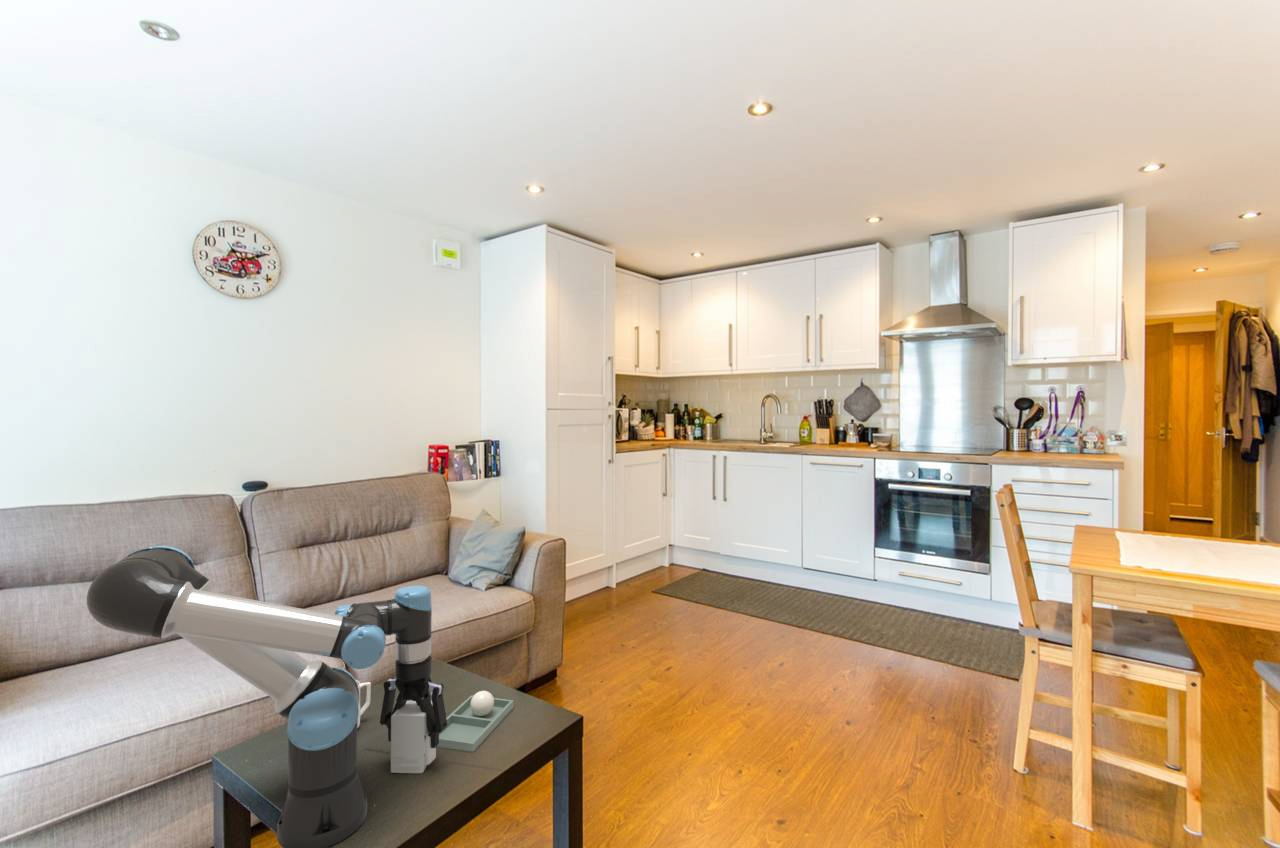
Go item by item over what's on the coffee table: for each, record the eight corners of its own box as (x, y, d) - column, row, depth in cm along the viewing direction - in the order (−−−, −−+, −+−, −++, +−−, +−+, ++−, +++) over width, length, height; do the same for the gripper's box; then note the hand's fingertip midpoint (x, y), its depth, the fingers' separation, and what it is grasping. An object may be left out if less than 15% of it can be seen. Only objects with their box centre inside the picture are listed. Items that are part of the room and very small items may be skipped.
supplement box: (423, 774, 127) (423, 716, 127) (389, 773, 127) (389, 715, 127) (435, 754, 134) (436, 700, 134) (404, 754, 135) (404, 699, 134)
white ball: (487, 722, 148) (487, 698, 148) (465, 719, 149) (465, 695, 149) (498, 710, 153) (498, 687, 153) (477, 707, 155) (477, 685, 155)
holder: (473, 754, 134) (473, 743, 134) (425, 747, 137) (425, 736, 137) (513, 709, 155) (513, 700, 155) (471, 704, 158) (471, 695, 158)
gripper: (464, 655, 132) (464, 755, 132) (383, 646, 137) (383, 742, 137) (446, 669, 124) (446, 774, 125) (361, 659, 129) (361, 761, 129)
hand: (413, 758), depth 131 cm, fingers closed on supplement box, 8 cm apart
